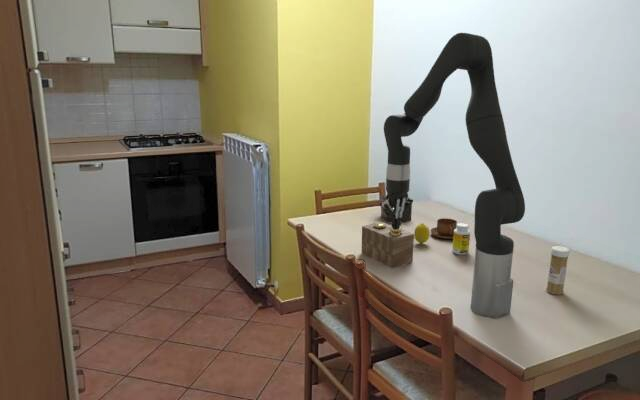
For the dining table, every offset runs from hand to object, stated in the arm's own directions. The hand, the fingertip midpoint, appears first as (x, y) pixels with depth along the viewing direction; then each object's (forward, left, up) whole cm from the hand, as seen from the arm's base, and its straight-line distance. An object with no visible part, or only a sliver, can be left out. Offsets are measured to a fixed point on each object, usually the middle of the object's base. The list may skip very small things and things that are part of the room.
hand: (395, 228), depth 162 cm
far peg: (+8, 0, -11) cm, 13 cm away
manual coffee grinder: (+39, -36, -12) cm, 54 cm away
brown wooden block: (+4, 0, -12) cm, 12 cm away
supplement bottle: (-7, -25, -12) cm, 29 cm away
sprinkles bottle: (-44, -22, -12) cm, 51 cm away
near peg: (0, 0, -10) cm, 10 cm away
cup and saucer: (+8, -35, -12) cm, 38 cm away
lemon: (+7, -20, -12) cm, 24 cm away
